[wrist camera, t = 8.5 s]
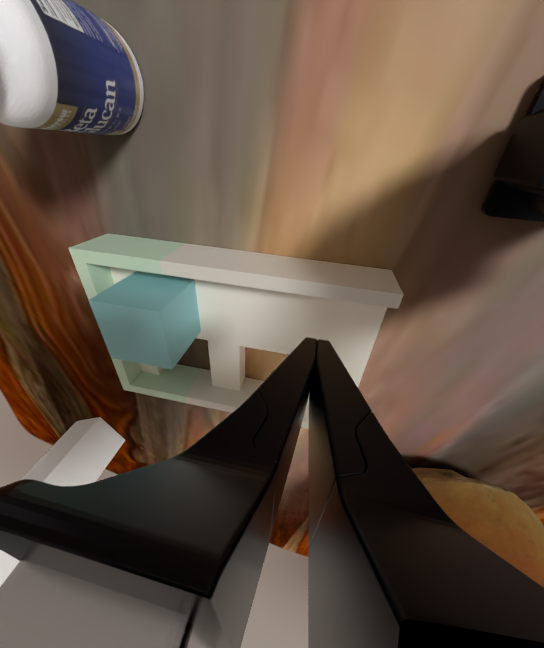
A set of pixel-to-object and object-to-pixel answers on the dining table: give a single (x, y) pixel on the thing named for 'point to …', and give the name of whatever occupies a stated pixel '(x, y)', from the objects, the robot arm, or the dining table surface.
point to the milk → (72, 464)
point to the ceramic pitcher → (490, 518)
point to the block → (148, 318)
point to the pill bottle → (65, 70)
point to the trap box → (244, 311)
